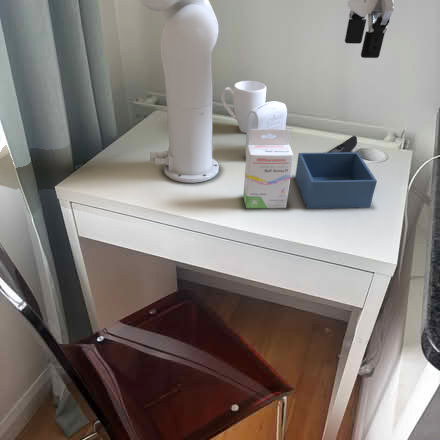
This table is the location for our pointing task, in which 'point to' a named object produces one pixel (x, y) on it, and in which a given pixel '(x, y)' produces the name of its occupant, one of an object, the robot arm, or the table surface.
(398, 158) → the table surface
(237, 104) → the mug
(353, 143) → the electric trimmer
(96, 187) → the table surface
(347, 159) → the holder
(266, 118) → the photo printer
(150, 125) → the table surface
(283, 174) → the ink box
